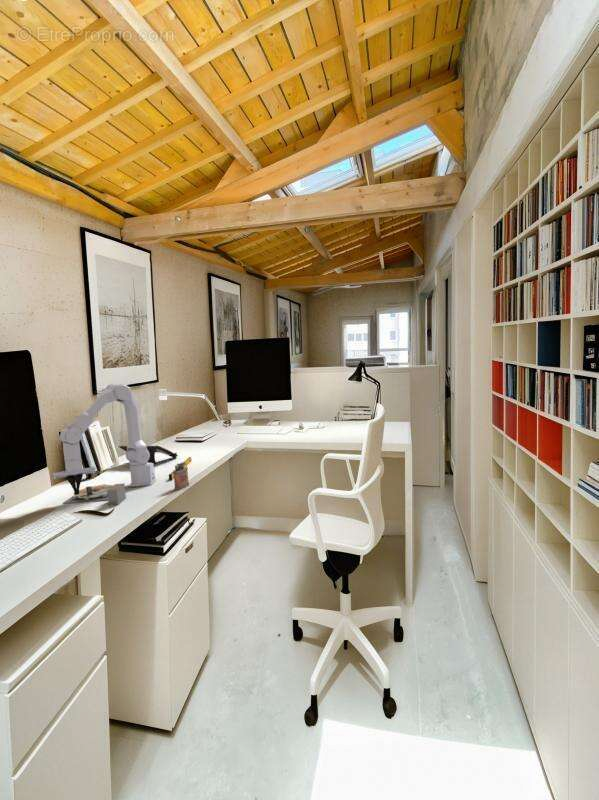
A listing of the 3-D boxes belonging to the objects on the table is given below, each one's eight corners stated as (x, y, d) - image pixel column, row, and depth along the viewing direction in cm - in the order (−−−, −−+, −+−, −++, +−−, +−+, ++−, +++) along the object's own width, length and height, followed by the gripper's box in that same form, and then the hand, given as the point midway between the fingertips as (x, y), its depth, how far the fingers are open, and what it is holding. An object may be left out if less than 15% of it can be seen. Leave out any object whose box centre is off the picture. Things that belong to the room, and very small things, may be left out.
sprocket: (124, 485, 192) (123, 476, 192) (109, 498, 175) (107, 487, 175) (84, 488, 192) (83, 478, 192) (64, 501, 175) (63, 490, 175)
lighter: (179, 490, 182) (177, 465, 181) (172, 490, 183) (170, 465, 182) (191, 484, 190) (189, 461, 189) (184, 484, 191) (182, 460, 190)
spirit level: (189, 462, 232) (188, 457, 231) (191, 462, 232) (191, 456, 231) (169, 481, 198) (168, 474, 198) (172, 481, 198) (171, 474, 198)
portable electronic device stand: (179, 469, 243) (182, 452, 246) (156, 459, 222) (159, 441, 225) (142, 469, 249) (145, 452, 252) (115, 459, 229) (119, 442, 232)
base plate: (126, 486, 193) (126, 485, 193) (110, 500, 175) (109, 499, 175) (83, 489, 193) (83, 488, 192) (62, 503, 175) (62, 502, 175)
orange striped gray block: (126, 498, 176) (124, 483, 175) (118, 505, 168) (116, 489, 168) (116, 499, 176) (115, 483, 175) (108, 506, 168) (107, 490, 167)
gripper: (50, 464, 168) (55, 500, 170) (93, 458, 174) (97, 493, 176) (52, 460, 175) (56, 495, 176) (93, 455, 181) (97, 488, 182)
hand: (77, 493), depth 176 cm, fingers closed
